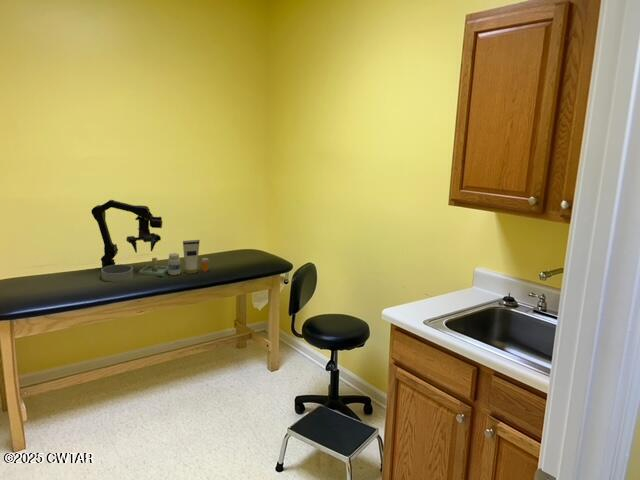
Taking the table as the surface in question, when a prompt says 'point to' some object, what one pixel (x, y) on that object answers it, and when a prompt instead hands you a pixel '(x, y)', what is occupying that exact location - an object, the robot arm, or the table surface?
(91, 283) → the table surface
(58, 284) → the table surface
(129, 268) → the translucent round bowl
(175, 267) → the toiletry set
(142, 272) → the tray
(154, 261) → the dowel pin
